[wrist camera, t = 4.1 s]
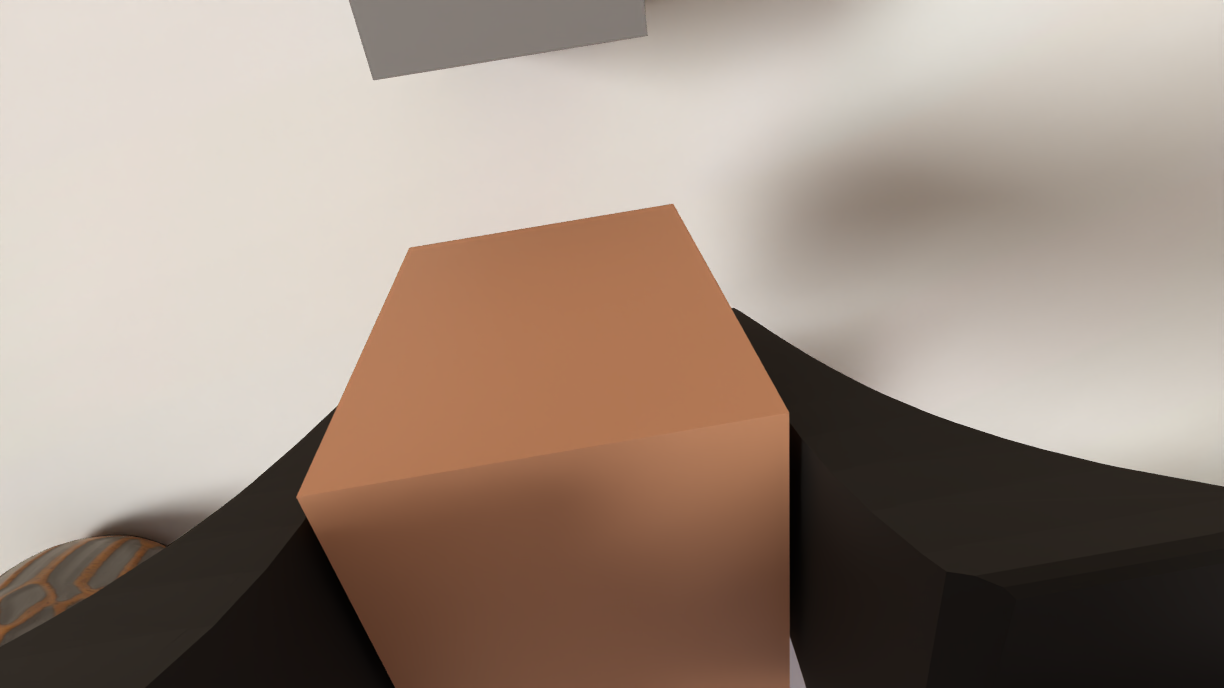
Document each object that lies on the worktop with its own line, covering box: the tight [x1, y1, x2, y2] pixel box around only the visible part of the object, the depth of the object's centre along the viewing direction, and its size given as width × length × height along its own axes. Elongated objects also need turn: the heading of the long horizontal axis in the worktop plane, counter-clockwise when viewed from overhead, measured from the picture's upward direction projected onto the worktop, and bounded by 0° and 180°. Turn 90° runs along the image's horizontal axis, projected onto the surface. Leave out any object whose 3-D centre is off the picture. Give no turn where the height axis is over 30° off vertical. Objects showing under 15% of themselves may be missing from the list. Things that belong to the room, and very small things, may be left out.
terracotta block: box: [296, 204, 790, 688], centre depth 10 cm, size 4×4×6 cm
